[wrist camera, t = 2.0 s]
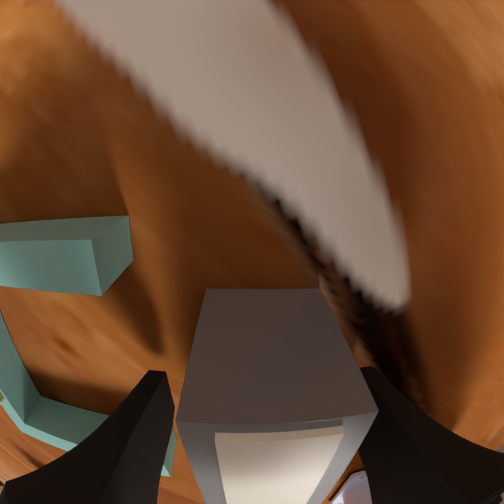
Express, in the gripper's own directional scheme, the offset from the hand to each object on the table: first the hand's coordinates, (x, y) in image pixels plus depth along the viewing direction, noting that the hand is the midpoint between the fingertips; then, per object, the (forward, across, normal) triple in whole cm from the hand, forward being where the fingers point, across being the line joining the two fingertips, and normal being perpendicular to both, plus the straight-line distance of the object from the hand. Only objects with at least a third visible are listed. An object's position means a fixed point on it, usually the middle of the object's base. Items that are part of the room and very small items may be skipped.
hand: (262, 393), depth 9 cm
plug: (+2, 0, 0) cm, 2 cm away
